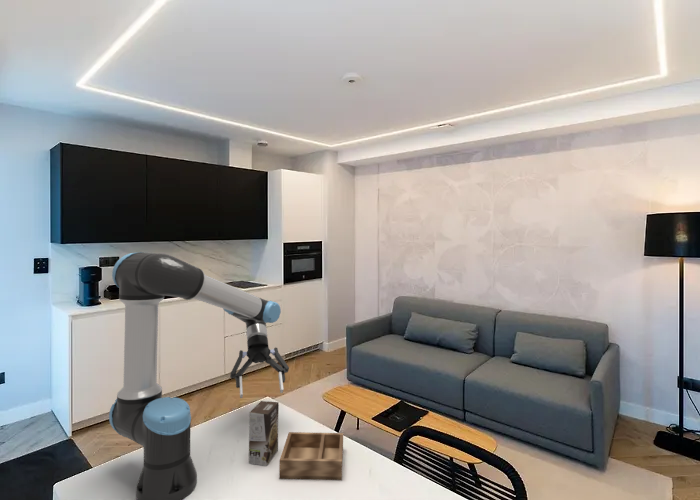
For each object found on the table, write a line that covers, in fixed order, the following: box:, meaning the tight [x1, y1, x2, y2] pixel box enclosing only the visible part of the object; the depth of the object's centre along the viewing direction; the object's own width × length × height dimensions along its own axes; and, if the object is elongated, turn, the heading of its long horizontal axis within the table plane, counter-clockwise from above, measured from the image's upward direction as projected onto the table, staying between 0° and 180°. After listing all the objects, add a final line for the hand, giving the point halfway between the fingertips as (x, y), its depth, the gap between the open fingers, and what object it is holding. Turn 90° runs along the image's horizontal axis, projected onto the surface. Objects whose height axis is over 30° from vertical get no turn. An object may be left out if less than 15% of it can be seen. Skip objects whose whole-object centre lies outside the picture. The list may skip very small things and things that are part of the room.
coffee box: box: [248, 400, 279, 467], centre depth 121 cm, size 9×6×16 cm
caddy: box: [278, 431, 344, 481], centre depth 118 cm, size 18×16×6 cm
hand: (262, 393), depth 130 cm, fingers open, 13 cm apart
